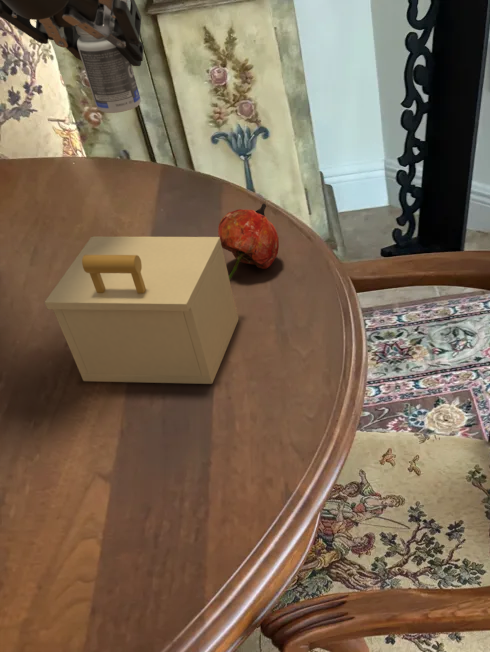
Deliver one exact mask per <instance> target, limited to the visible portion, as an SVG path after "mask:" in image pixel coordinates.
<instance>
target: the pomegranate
mask: <svg viewBox="0 0 490 652" xmlns="http://www.w3.org/2000/svg"><path fill="white" fill-rule="evenodd" d="M266 208H267V204H266V203H265V202H264V203H262V204H261V206H260V207H259V208H258V209H257V210H253V209H241V208H239V209H235V210H233V211H229V212H227V213H226V214H225V215H224V216H223V217H222V218H221V219H220V221H219V223H218V226H217V227H218V229H217V237H220V240H221V245H222V249H223V250H226V251H228V252H230V253H232V255H233V257H234V258H235V259H236V261H235V263H234V266H233V267H232V269H231V272H230V273H229V274H228V276H229V280H231V279H232V278H233V275H234V273H236V271H237V270H238V266H239V263H240V262H241V263H243V264H248V265H255V266H256V267H257V268H258V269H262V270H267V269H268V268H270V267H271V265H273V263H274V261H275V260H276V258H277V257H278V254H279V248H280V243H279V240H280V239H279V235H278V231H277V229H276V227H275V226H274V224H273V223H272V222H271V221H270V220H269V219H268V217H267V216H266V215H265V211H266Z"/></svg>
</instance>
